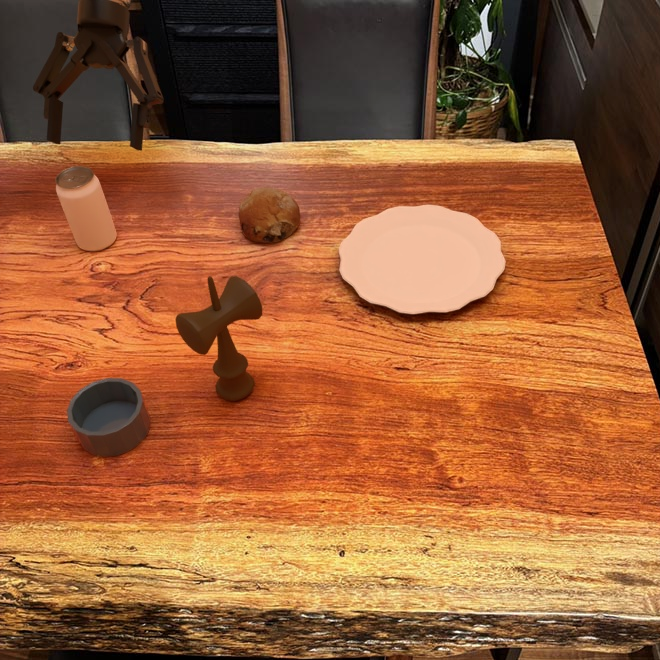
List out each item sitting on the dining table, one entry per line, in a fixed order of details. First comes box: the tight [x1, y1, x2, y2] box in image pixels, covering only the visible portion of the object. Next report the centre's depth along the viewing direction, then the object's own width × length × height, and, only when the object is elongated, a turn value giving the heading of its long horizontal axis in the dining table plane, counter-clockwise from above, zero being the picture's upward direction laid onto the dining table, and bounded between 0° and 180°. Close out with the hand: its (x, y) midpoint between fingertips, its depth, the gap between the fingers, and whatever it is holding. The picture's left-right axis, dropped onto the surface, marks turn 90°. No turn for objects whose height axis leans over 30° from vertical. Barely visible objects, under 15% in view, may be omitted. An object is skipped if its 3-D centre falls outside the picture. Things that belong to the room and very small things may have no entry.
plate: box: [337, 204, 507, 316], centre depth 122 cm, size 25×25×2 cm
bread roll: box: [238, 186, 301, 244], centre depth 129 cm, size 10×10×8 cm
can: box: [54, 165, 118, 253], centre depth 124 cm, size 6×6×12 cm
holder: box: [66, 377, 151, 458], centre depth 102 cm, size 9×9×4 cm
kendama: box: [175, 275, 263, 402], centre depth 100 cm, size 6×10×20 cm, turn 138°
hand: (94, 145), depth 125 cm, fingers open, 13 cm apart
